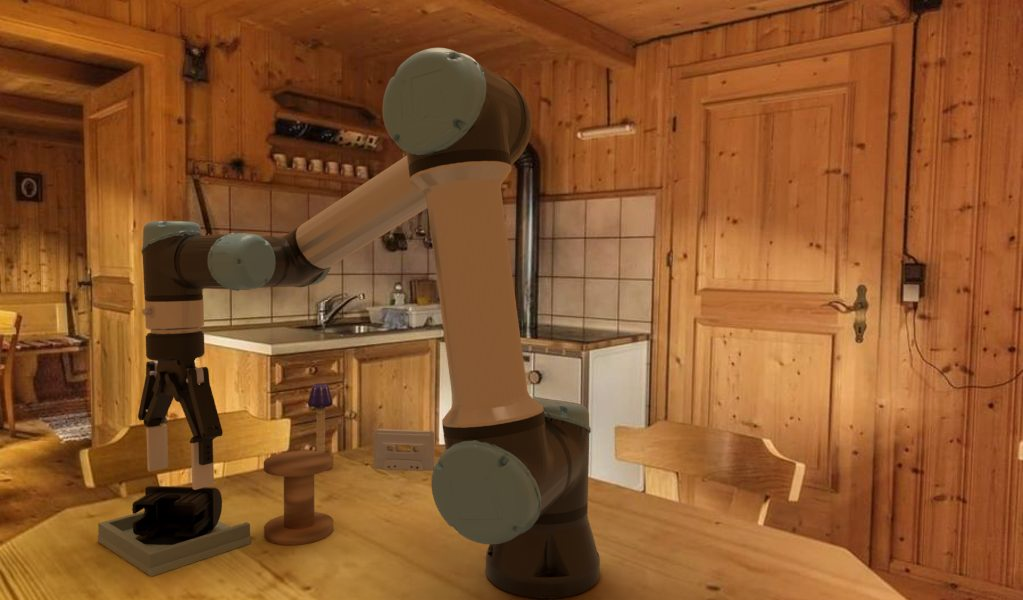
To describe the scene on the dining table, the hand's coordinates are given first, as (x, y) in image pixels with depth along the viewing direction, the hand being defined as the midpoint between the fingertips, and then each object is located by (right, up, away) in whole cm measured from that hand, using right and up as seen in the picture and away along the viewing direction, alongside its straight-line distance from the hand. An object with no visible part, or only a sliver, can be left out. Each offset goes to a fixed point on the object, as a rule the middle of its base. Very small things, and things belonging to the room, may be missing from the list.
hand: (179, 477), depth 100 cm
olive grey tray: (-1, -9, 0) cm, 9 cm away
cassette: (+26, -8, +37) cm, 46 cm away
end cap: (-1, -9, +1) cm, 9 cm away
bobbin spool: (+16, -9, +5) cm, 19 cm away
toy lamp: (+10, -8, +36) cm, 39 cm away
